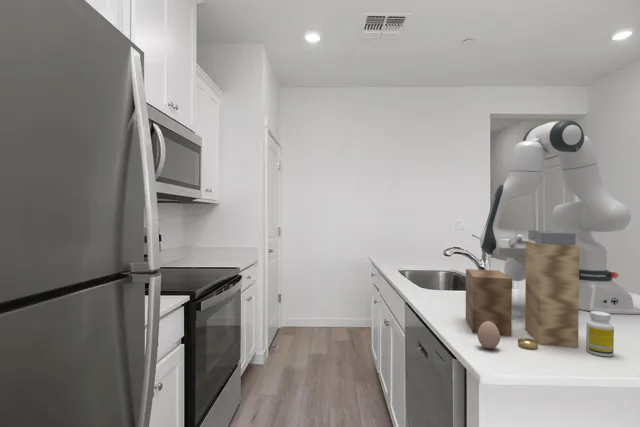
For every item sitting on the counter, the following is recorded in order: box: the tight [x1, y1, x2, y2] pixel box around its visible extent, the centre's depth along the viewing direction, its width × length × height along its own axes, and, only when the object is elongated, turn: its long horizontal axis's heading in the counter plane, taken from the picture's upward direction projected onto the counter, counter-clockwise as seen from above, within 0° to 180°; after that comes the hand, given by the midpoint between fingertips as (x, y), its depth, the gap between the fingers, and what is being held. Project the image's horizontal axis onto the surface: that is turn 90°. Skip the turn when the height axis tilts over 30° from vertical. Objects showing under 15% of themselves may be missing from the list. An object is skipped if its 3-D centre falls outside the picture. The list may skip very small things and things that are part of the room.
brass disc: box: [517, 337, 539, 351], centre depth 97 cm, size 4×4×2 cm
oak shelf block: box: [524, 241, 580, 348], centre depth 104 cm, size 9×13×26 cm
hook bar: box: [527, 229, 576, 245], centre depth 109 cm, size 21×8×3 cm, turn 166°
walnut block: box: [465, 268, 513, 337], centre depth 114 cm, size 10×16×16 cm, turn 166°
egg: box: [477, 321, 501, 350], centre depth 96 cm, size 5×5×7 cm
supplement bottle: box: [585, 311, 615, 357], centre depth 93 cm, size 5×5×10 cm
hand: (536, 237), depth 117 cm, fingers open, 8 cm apart
